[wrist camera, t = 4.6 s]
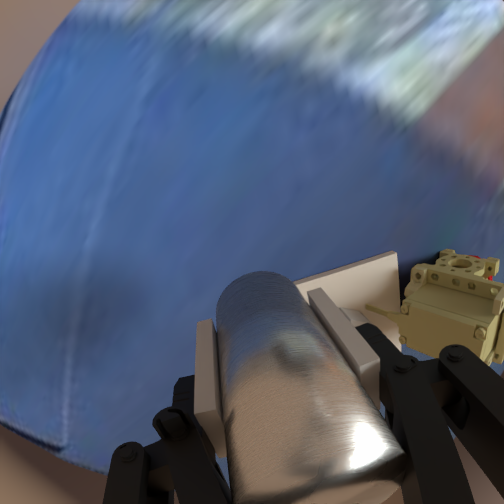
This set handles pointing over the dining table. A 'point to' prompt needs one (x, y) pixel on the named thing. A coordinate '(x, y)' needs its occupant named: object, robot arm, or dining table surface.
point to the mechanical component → (452, 307)
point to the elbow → (296, 405)
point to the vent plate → (362, 291)
